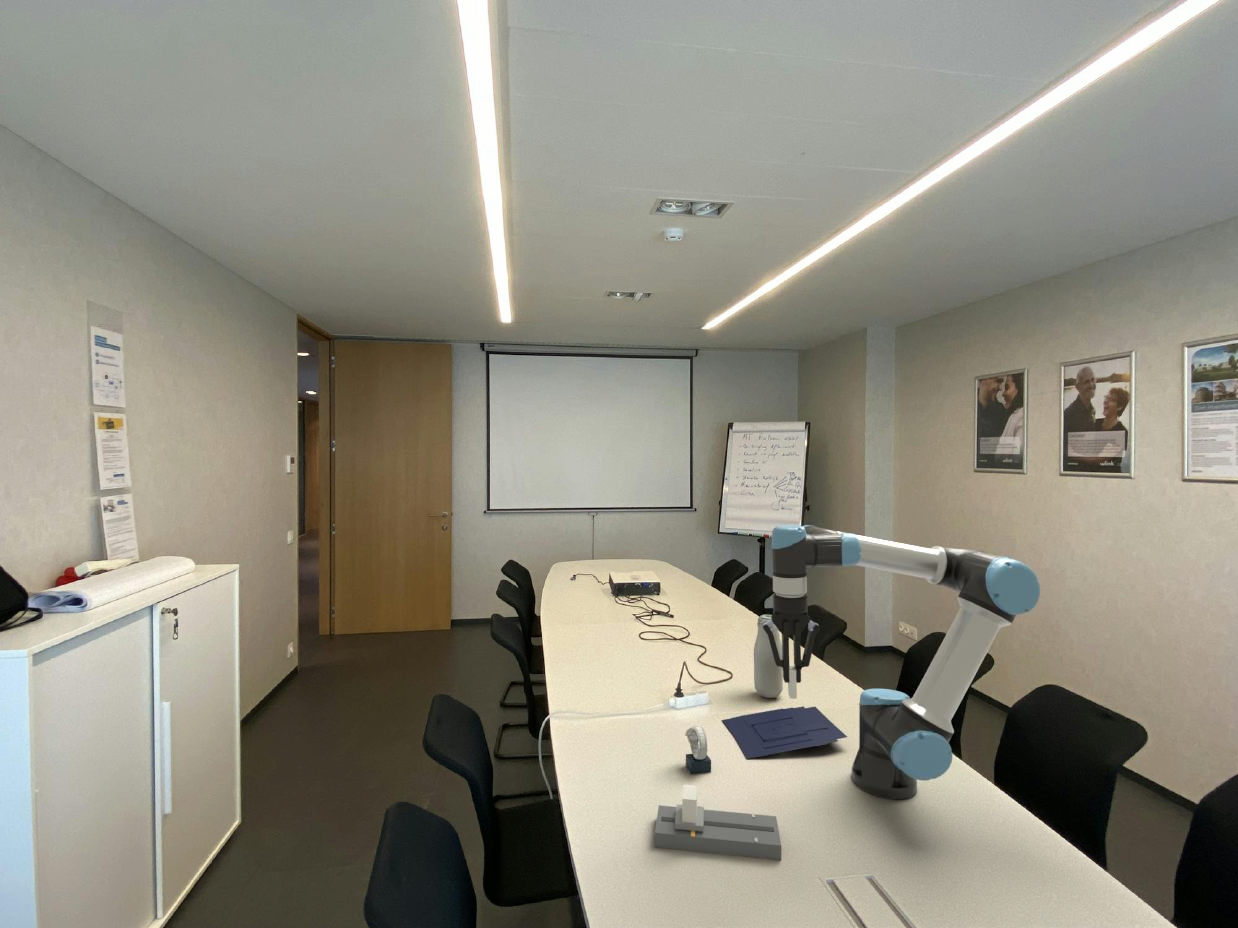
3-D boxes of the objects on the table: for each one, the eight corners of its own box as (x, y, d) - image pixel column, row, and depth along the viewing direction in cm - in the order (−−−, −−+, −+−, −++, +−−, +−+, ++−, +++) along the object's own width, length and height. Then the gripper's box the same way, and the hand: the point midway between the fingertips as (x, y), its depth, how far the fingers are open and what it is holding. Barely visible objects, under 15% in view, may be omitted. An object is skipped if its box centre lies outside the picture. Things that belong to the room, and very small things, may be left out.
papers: (852, 749, 166) (850, 736, 165) (748, 768, 162) (746, 755, 162) (813, 712, 190) (812, 701, 190) (722, 728, 186) (721, 716, 186)
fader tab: (703, 811, 133) (703, 784, 133) (703, 831, 126) (703, 802, 126) (676, 809, 134) (676, 781, 134) (674, 828, 127) (675, 799, 127)
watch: (702, 759, 162) (703, 719, 162) (713, 775, 154) (713, 733, 154) (683, 762, 161) (683, 721, 161) (692, 777, 153) (693, 735, 153)
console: (775, 829, 132) (776, 815, 132) (781, 859, 122) (781, 844, 122) (658, 818, 136) (658, 804, 136) (654, 846, 126) (654, 831, 126)
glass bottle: (780, 690, 209) (780, 611, 209) (785, 703, 199) (786, 619, 199) (751, 689, 210) (752, 610, 210) (755, 701, 200) (755, 618, 200)
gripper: (816, 589, 139) (818, 690, 140) (759, 589, 141) (761, 688, 141) (822, 597, 132) (825, 703, 132) (762, 597, 133) (765, 702, 134)
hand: (792, 695), depth 137 cm, fingers closed
